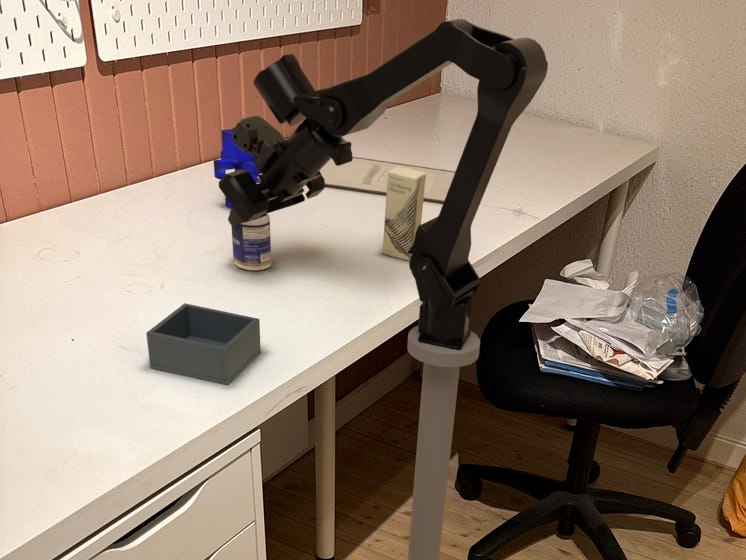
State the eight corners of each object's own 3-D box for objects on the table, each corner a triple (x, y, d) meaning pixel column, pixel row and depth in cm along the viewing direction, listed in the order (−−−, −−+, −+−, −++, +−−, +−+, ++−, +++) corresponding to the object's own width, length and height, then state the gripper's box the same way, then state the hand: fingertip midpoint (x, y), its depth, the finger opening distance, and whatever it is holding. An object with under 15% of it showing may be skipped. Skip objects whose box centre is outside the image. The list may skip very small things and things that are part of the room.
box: (381, 254, 157) (385, 171, 148) (391, 247, 160) (395, 164, 152) (411, 261, 156) (417, 178, 147) (421, 254, 159) (426, 171, 151)
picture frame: (463, 173, 197) (319, 152, 197) (464, 172, 197) (319, 151, 196) (454, 204, 181) (297, 182, 180) (454, 203, 180) (297, 180, 180)
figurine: (267, 203, 169) (265, 129, 161) (260, 217, 164) (257, 141, 156) (224, 198, 169) (220, 123, 161) (215, 212, 163) (210, 135, 155)
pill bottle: (231, 257, 148) (227, 189, 141) (268, 257, 150) (266, 190, 143) (236, 271, 144) (231, 202, 137) (274, 271, 146) (272, 202, 139)
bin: (260, 352, 125) (259, 318, 122) (227, 385, 117) (225, 349, 114) (187, 337, 125) (184, 302, 123) (150, 368, 118) (145, 332, 115)
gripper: (307, 90, 137) (248, 156, 147) (225, 110, 124) (166, 181, 134) (352, 161, 140) (291, 222, 150) (277, 188, 127) (216, 252, 137)
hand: (243, 217), depth 143 cm, fingers closed on pill bottle, 6 cm apart
